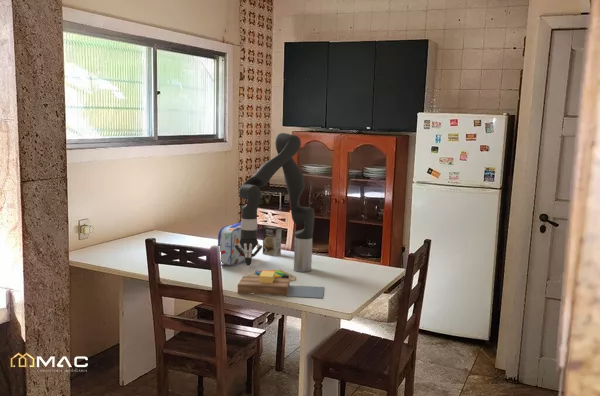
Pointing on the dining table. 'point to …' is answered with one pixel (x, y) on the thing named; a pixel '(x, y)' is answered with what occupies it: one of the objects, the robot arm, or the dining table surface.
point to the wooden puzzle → (277, 274)
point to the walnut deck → (264, 286)
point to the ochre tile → (267, 277)
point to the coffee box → (272, 240)
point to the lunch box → (230, 244)
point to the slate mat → (305, 291)
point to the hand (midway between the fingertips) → (248, 265)
